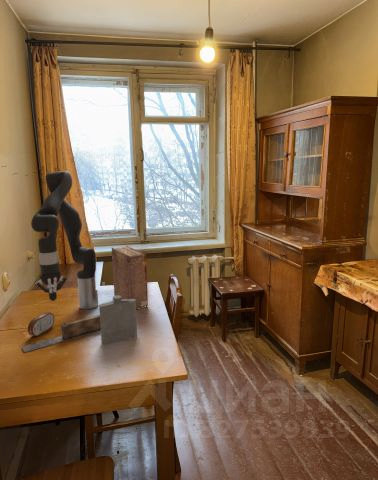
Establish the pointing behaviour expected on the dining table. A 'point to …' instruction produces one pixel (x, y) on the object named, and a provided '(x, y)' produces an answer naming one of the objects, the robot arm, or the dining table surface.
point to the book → (130, 275)
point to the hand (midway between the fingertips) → (53, 300)
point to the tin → (41, 323)
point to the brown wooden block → (80, 326)
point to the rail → (54, 341)
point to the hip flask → (118, 320)
